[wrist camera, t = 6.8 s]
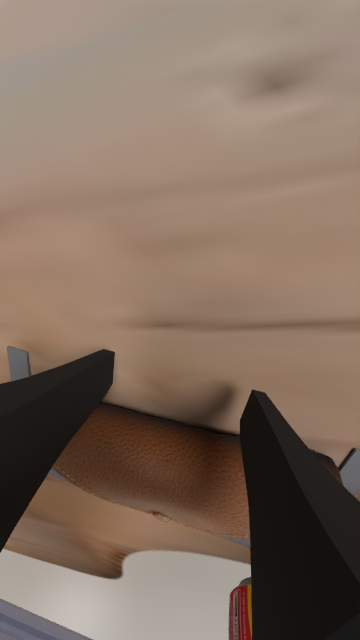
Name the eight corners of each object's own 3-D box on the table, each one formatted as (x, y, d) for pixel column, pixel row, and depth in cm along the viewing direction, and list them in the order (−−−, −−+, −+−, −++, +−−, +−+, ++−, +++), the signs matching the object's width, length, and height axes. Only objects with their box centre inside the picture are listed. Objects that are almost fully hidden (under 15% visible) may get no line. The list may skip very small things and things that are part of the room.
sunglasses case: (66, 465, 17) (-17, 530, 11) (88, 381, 18) (25, 393, 12) (288, 530, 15) (357, 665, 8) (297, 428, 16) (364, 477, 9)
